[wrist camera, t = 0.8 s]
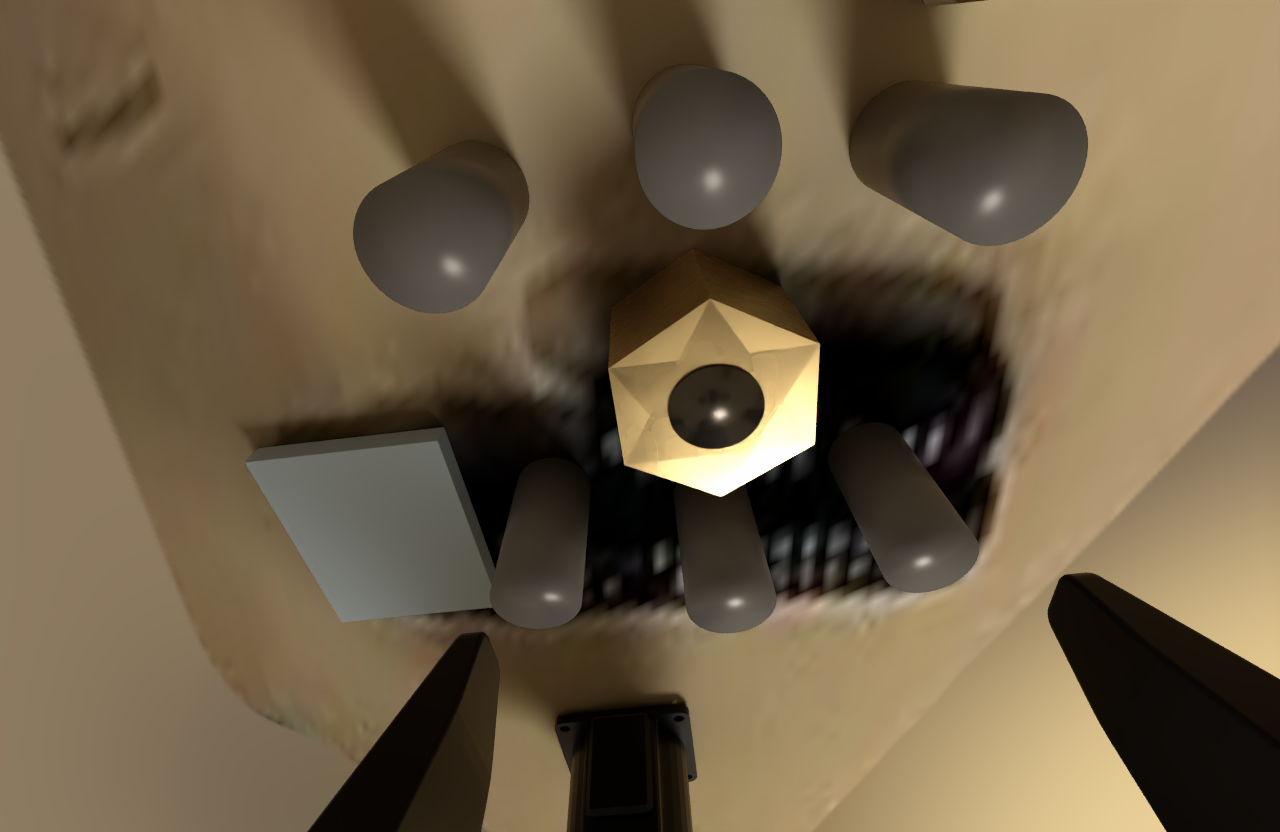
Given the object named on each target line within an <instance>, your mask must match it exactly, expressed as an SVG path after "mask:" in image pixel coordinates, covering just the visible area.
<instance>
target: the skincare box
mask: <svg viewBox="0 0 1280 832" xmlns="http://www.w3.org/2000/svg"><path fill="white" fill-rule="evenodd" d="M974 1H984V0H923V2H924V4H925V5H927V6H937V5H947V4H957V3H965V2H974Z"/></svg>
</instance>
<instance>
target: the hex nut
mask: <svg viewBox="0 0 1280 832" xmlns="http://www.w3.org/2000/svg"><path fill="white" fill-rule="evenodd" d="M819 354H820V343H819V342H818V340H817V339H816V337H815V336H814V334H813V333H812V331H811V330H810V328H809V327H808V325H807V324H806V322H805V321H804V319H803V318H802V316H801V315H800V313H799V312H798V310H797V309H796V307H795V306H794V304H793V303H792V302H791V300H790V299H789V297H788V296H787V294H786V293H785V291H784V290H783V288H782V287H781V286H780V285H777V284H775V283H773V282H770V281H768V280H766V279H763V278H761V277H759V276H757V275H754V274H752V273H750V272H747V271H745V270H743V269H740V268H738V267H736V266H733V265H731V264H729V263H727V262H724V261H722V260H720V259H717V258H715V257H713V256H710V255H708V254H706V253H703V252H701V251H699V250H697V249H694V248H691V249H690V250H689V251H687V252H686V253H684V254H683V255H682V256H680V257H679V258H678V259H676V260H675V261H674V262H672V263H671V264H669V265H668V266H667V267H665V268H664V269H663V270H661V271H660V272H658V273H657V274H656V275H654V276H653V277H652V278H650V279H649V280H648V281H646V282H645V283H643V284H642V285H641V286H639V287H638V288H637V289H635V290H634V291H632V292H631V293H630V294H628V295H627V296H626V297H624V298H623V299H621V300H620V301H619V302H617V303H616V304H615V305H613V306H612V307H611V327H610V346H609V366H608V370H609V376H610V382H611V388H612V394H613V400H614V406H615V412H616V418H617V424H618V430H619V436H620V442H621V448H622V454H623V460H624V465H626V466H629V467H632V468H635V469H638V470H641V471H644V472H647V473H650V474H653V475H656V476H659V477H662V478H665V479H669V480H672V481H675V482H678V483H681V484H684V485H687V486H690V487H693V488H696V489H699V490H702V491H705V492H708V493H711V494H714V495H717V496H720V497H722V496H724V495H725V494H727V493H729V492H731V491H732V490H734V489H736V488H738V487H740V486H741V485H743V484H745V483H747V482H748V481H750V480H752V479H754V478H756V477H757V476H759V475H761V474H763V473H764V472H766V471H768V470H770V469H772V468H773V467H775V466H777V465H779V464H781V463H782V462H784V461H786V460H788V459H789V458H791V457H793V456H795V455H797V454H798V453H800V452H802V451H804V450H805V449H807V448H809V447H811V446H813V445H814V444H815V429H816V410H817V392H818V373H819Z"/></svg>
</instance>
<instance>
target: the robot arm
mask: <svg viewBox="0 0 1280 832" xmlns="http://www.w3.org/2000/svg"><path fill="white" fill-rule="evenodd" d="M1048 619H1049V623H1050V625H1051V628H1052V630H1053V632H1054V634H1055V636H1056V638H1057V640H1058V642H1059V644H1060V646H1061V648H1062V650H1063V652H1064V654H1065V656H1066V658H1067V660H1068V662H1069V664H1070V666H1071V668H1072V670H1073V672H1074V674H1075V676H1076V678H1077V680H1078V682H1079V684H1080V686H1081V688H1082V690H1083V692H1084V694H1085V696H1086V698H1087V700H1088V702H1089V704H1090V706H1091V708H1092V710H1093V712H1094V714H1095V715H1096V717H1097V719H1098V721H1099V723H1100V725H1101V726H1102V728H1103V730H1104V731H1105V733H1106V735H1107V736H1108V738H1109V740H1110V741H1111V743H1112V745H1113V746H1114V748H1115V750H1116V751H1117V752H1118V754H1119V756H1120V758H1121V759H1122V761H1123V762H1124V764H1125V765H1126V767H1127V769H1128V770H1129V772H1130V774H1131V775H1132V777H1133V778H1134V780H1135V782H1136V783H1137V785H1138V786H1139V788H1140V790H1141V791H1142V793H1143V795H1144V796H1145V798H1146V799H1147V801H1148V803H1149V804H1150V805H1151V807H1152V809H1153V811H1154V812H1155V814H1156V815H1157V817H1158V819H1159V820H1160V822H1161V823H1162V825H1163V827H1164V828H1165V830H1166V831H1167V832H1280V679H1278V678H1277V677H1275V676H1273V675H1271V674H1270V673H1268V672H1266V671H1265V670H1263V669H1261V668H1259V667H1258V666H1256V665H1254V664H1252V663H1251V662H1249V661H1247V660H1245V659H1244V658H1242V657H1240V656H1238V655H1237V654H1235V653H1233V652H1231V651H1230V650H1228V649H1226V648H1224V647H1223V646H1221V645H1219V644H1217V643H1215V642H1214V641H1212V640H1210V639H1209V638H1207V637H1205V636H1203V635H1202V634H1200V633H1198V632H1196V631H1195V630H1193V629H1191V628H1189V627H1188V626H1186V625H1184V624H1182V623H1180V622H1179V621H1177V620H1175V619H1173V618H1172V617H1170V616H1168V615H1167V614H1165V613H1163V612H1161V611H1160V610H1158V609H1156V608H1155V607H1153V606H1151V605H1149V604H1147V603H1146V602H1144V601H1142V600H1141V599H1139V598H1137V597H1135V596H1134V595H1132V594H1130V593H1128V592H1127V591H1125V590H1123V589H1121V588H1120V587H1117V586H1116V585H1114V584H1113V583H1111V582H1109V581H1107V580H1105V579H1104V578H1102V577H1100V576H1098V575H1096V574H1093V573H1077V574H1067V575H1064V576H1063V577H1061V578H1060V579H1059V581H1058V584H1057V586H1056V589H1055V591H1054V594H1053V597H1052V600H1051V602H1050V604H1049V607H1048ZM499 679H500V670H499V663H498V660H497V658H496V655H495V653H494V650H493V648H492V646H491V643H490V641H489V638H488V636H487V635H486V634H485V633H484V632H476V633H466V634H461V635H460V636H458V637H457V638H456V639H455V640H454V642H453V643H452V644H451V646H450V647H449V648H448V650H447V651H446V652H445V653H444V655H443V656H442V657H441V659H440V660H439V661H438V663H437V664H436V665H435V666H434V668H433V669H432V670H431V672H430V673H429V674H428V675H427V677H426V678H425V679H424V681H423V682H422V683H421V685H420V686H419V687H418V688H417V690H416V691H415V692H414V694H413V695H412V696H411V698H410V699H409V700H408V701H407V703H406V704H405V705H404V707H403V708H402V709H401V711H400V712H399V713H398V714H397V716H396V717H395V718H394V720H393V721H392V722H391V724H390V725H389V726H388V727H387V729H386V730H385V731H384V733H383V734H382V735H381V737H380V738H379V739H378V740H377V742H376V743H375V744H374V746H373V747H372V748H371V750H370V751H369V752H368V753H367V755H366V756H365V757H364V759H363V760H362V761H361V763H360V764H359V765H358V767H357V768H356V769H355V770H354V772H353V773H352V775H351V776H350V777H349V778H348V779H347V781H346V782H345V783H344V785H343V786H342V787H341V789H340V790H339V791H338V793H337V794H336V795H335V796H334V798H333V799H332V800H331V802H330V803H329V804H328V806H327V807H326V808H325V809H324V811H323V812H322V813H321V815H320V816H319V817H318V818H317V820H316V821H315V822H314V824H313V825H312V826H311V828H310V829H309V830H308V832H481V829H482V824H483V819H484V813H485V808H486V803H487V797H488V792H489V786H490V780H491V772H492V762H493V751H494V739H495V727H496V715H497V703H498V691H499ZM555 732H556V734H557V737H558V740H559V743H560V745H561V748H562V751H563V754H564V757H565V759H566V762H567V765H568V768H569V771H570V773H571V780H570V794H569V807H568V821H567V832H693V829H692V818H691V806H690V795H689V783H688V782H690V781H693V780H695V779H696V778H697V771H696V763H695V755H694V747H693V739H692V732H691V724H690V716H689V709H688V708H687V707H686V706H684V705H670V706H659V707H648V708H637V709H626V710H614V711H603V712H592V713H581V714H570V715H562V716H559V717H557V719H556V722H555Z"/></svg>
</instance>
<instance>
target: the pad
mask: <svg viewBox="0 0 1280 832" xmlns="http://www.w3.org/2000/svg"><path fill="white" fill-rule="evenodd" d="M245 464H246V466H247V467H248V469H249V471H250V472H251V474H252V475H253V477H254V479H255V480H256V482H257V484H258V485H259V487H260V489H261V490H262V492H263V494H264V495H265V497H266V499H267V500H268V502H269V503H270V505H271V507H272V508H273V510H274V512H275V513H276V515H277V517H278V518H279V520H280V522H281V523H282V525H283V527H284V528H285V530H286V532H287V533H288V535H289V536H290V538H291V540H292V541H293V543H294V545H295V546H296V548H297V550H298V551H299V553H300V555H301V556H302V558H303V560H304V561H305V563H306V564H307V566H308V568H309V569H310V571H311V573H312V574H313V576H314V578H315V579H316V581H317V583H318V584H319V586H320V588H321V589H322V591H323V592H324V594H325V596H326V597H327V599H328V601H329V602H330V604H331V606H332V607H333V609H334V611H335V612H336V614H337V616H338V617H339V619H340V621H341V622H350V621H360V620H370V619H380V618H390V617H401V616H411V615H421V614H431V613H441V612H451V611H461V610H471V609H481V608H491V607H492V605H491V602H490V590H491V586H492V582H493V578H494V574H495V567H494V564H493V561H492V559H491V556H490V553H489V550H488V547H487V545H486V542H485V539H484V536H483V534H482V531H481V528H480V525H479V523H478V520H477V517H476V514H475V511H474V509H473V506H472V503H471V500H470V498H469V495H468V492H467V489H466V486H465V484H464V481H463V478H462V475H461V473H460V470H459V467H458V464H457V461H456V459H455V456H454V453H453V450H452V448H451V445H450V442H449V439H448V437H447V434H446V431H445V428H444V427H440V428H432V429H423V430H414V431H405V432H396V433H388V434H379V435H370V436H361V437H352V438H343V439H335V440H326V441H317V442H308V443H299V444H291V445H282V446H273V447H264V448H258V449H257V450H256V451H255V452H254V453H253V454H252V455H251V456H250V457H249V458H248V459H247V461H246V462H245Z"/></svg>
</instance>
